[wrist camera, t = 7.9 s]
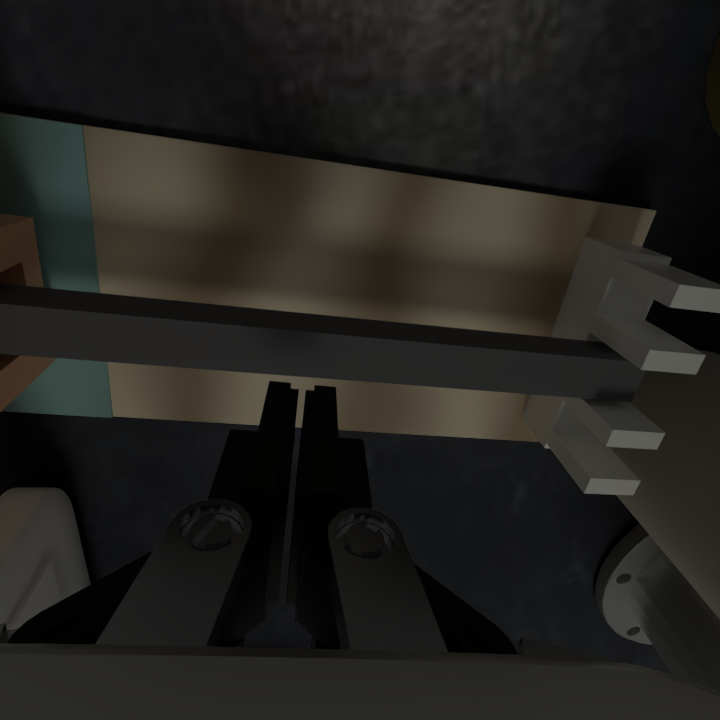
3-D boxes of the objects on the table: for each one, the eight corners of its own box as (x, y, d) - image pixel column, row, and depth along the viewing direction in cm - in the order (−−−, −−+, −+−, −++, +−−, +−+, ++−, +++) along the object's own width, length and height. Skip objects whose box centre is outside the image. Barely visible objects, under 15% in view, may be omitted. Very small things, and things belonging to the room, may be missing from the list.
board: (649, 209, 18) (658, 211, 18) (558, 438, 23) (563, 444, 23) (-388, 54, 13) (-412, 51, 13) (-230, 389, 18) (-244, 396, 17)
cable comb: (625, 240, 19) (743, 283, 14) (557, 415, 22) (630, 500, 17) (580, 234, 18) (683, 276, 13) (518, 412, 22) (581, 498, 17)
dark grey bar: (622, 344, 18) (649, 363, 16) (606, 380, 18) (631, 402, 17) (-335, 250, 13) (-413, 265, 12) (-308, 303, 14) (-378, 324, 12)
